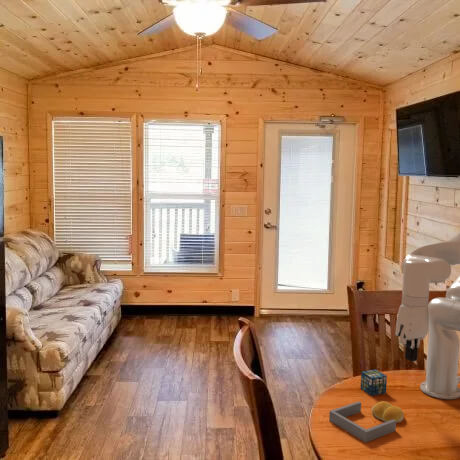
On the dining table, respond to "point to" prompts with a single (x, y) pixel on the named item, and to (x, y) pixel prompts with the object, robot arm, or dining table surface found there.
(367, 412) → the dining table surface
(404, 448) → the dining table surface
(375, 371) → the puzzle
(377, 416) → the bread roll
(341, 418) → the box
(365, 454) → the dining table surface
